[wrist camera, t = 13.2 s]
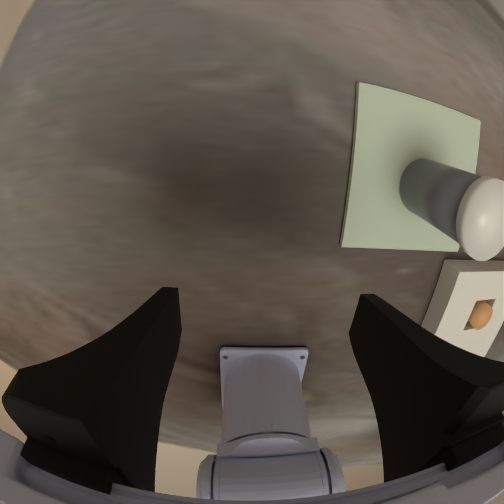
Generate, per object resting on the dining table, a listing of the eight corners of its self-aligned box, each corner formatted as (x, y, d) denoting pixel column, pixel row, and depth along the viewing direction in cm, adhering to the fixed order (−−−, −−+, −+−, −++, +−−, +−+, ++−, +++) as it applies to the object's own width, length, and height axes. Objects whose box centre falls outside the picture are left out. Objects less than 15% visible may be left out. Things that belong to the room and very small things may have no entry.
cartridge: (441, 215, 20) (505, 257, 13) (394, 217, 20) (456, 265, 13) (446, 158, 18) (519, 182, 11) (398, 154, 18) (470, 176, 11)
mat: (454, 249, 22) (457, 251, 21) (339, 244, 21) (341, 246, 21) (477, 120, 17) (480, 121, 16) (356, 82, 16) (359, 81, 16)
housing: (453, 380, 30) (461, 392, 28) (386, 396, 30) (392, 411, 28) (511, 260, 23) (524, 270, 20) (444, 259, 22) (459, 271, 20)
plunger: (474, 315, 24) (486, 328, 22) (458, 317, 24) (470, 331, 22) (483, 293, 23) (496, 306, 21) (468, 295, 23) (481, 308, 21)
